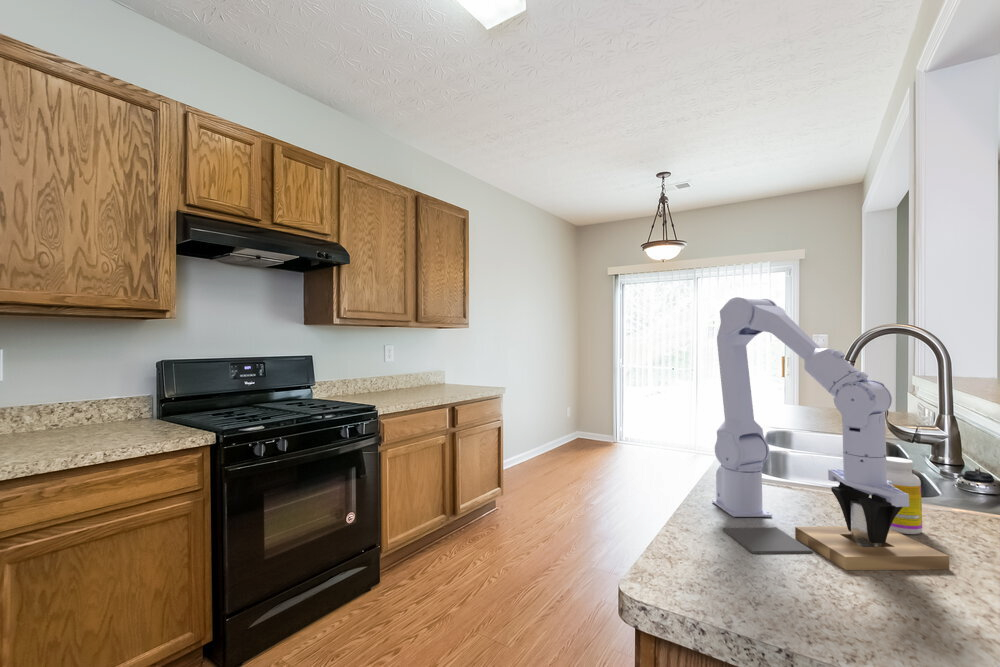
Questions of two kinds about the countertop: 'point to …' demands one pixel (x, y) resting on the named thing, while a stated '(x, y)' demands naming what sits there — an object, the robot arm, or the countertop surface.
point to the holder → (871, 550)
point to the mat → (766, 540)
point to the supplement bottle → (910, 484)
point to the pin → (860, 526)
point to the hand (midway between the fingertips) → (866, 536)
